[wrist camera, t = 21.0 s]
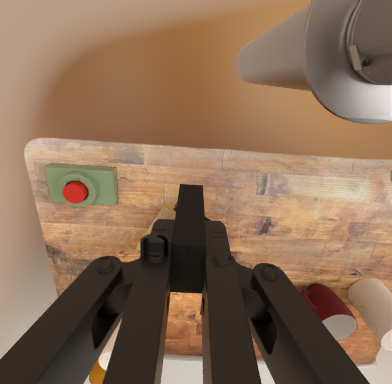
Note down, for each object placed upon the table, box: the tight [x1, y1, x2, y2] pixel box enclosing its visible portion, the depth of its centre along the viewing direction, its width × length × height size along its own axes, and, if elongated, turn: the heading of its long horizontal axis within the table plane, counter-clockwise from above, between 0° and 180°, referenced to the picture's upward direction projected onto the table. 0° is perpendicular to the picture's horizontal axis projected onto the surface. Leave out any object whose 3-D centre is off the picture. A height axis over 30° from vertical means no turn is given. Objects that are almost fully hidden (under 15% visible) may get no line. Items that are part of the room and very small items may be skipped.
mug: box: [300, 284, 358, 341], centre depth 55 cm, size 10×8×10 cm
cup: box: [348, 278, 392, 352], centre depth 55 cm, size 8×8×12 cm
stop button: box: [63, 181, 88, 204], centre depth 44 cm, size 4×4×2 cm
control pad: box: [44, 163, 118, 207], centre depth 46 cm, size 12×7×4 cm, turn 86°
